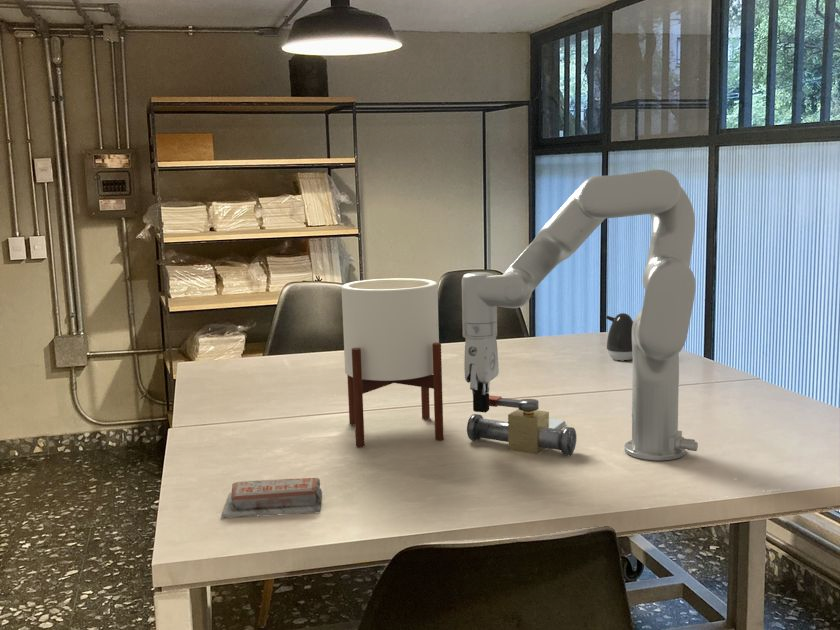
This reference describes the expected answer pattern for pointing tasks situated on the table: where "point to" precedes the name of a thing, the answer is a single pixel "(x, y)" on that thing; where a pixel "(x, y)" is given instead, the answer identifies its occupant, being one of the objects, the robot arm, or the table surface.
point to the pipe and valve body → (524, 432)
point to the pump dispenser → (620, 337)
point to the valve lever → (514, 403)
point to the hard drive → (556, 423)
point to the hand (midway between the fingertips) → (481, 410)
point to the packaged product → (273, 497)
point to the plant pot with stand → (392, 343)
